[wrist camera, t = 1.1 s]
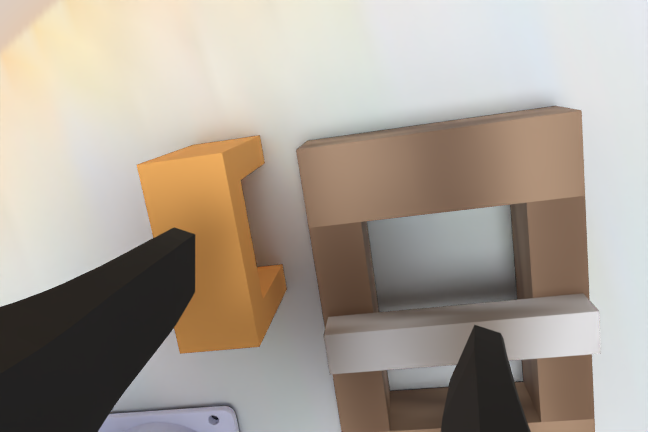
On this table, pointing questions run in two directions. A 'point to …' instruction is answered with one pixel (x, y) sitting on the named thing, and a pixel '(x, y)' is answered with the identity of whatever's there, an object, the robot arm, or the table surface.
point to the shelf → (446, 186)
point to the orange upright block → (215, 242)
